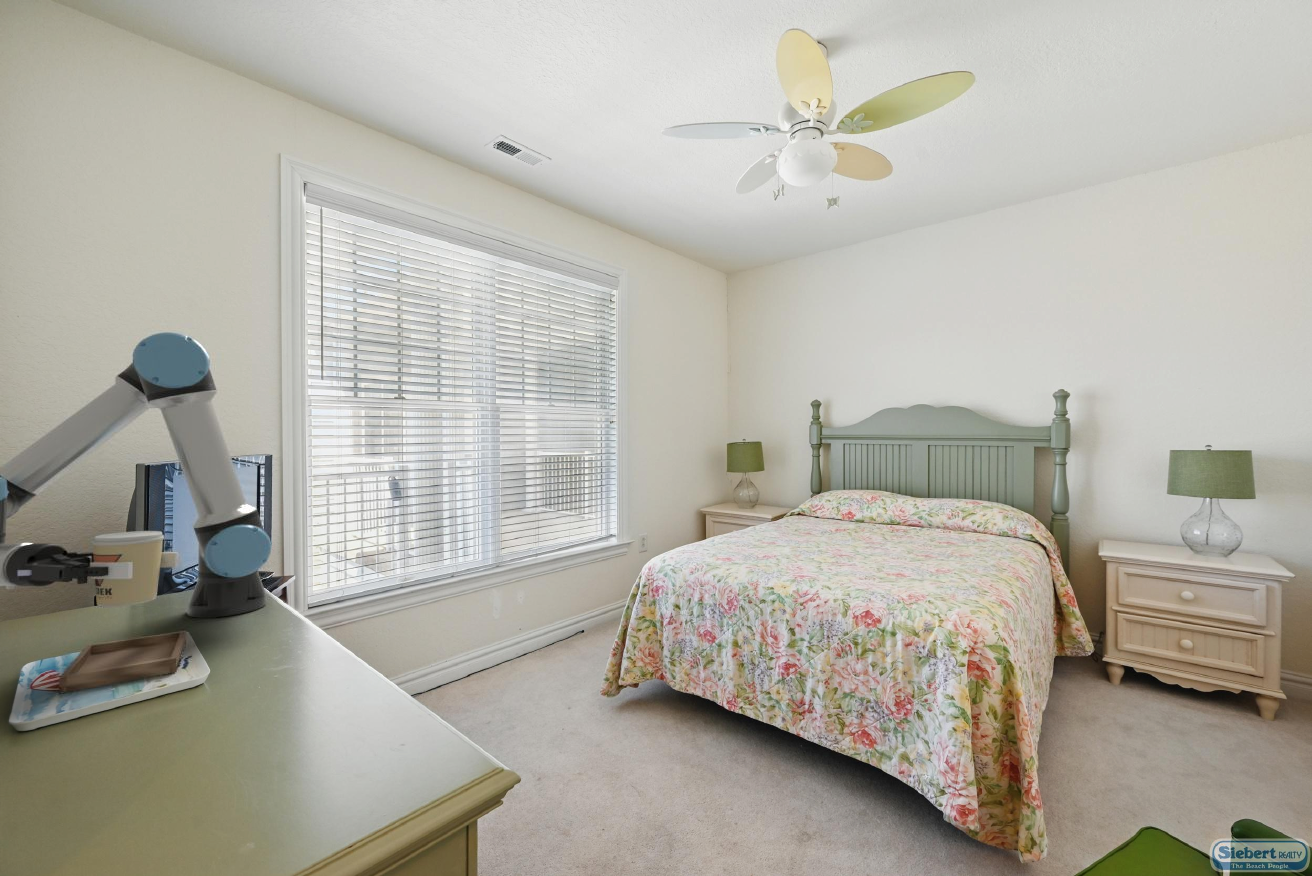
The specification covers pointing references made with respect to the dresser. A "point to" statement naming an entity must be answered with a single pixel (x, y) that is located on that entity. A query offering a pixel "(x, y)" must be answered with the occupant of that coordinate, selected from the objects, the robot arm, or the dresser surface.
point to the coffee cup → (146, 567)
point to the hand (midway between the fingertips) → (154, 564)
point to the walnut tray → (123, 661)
